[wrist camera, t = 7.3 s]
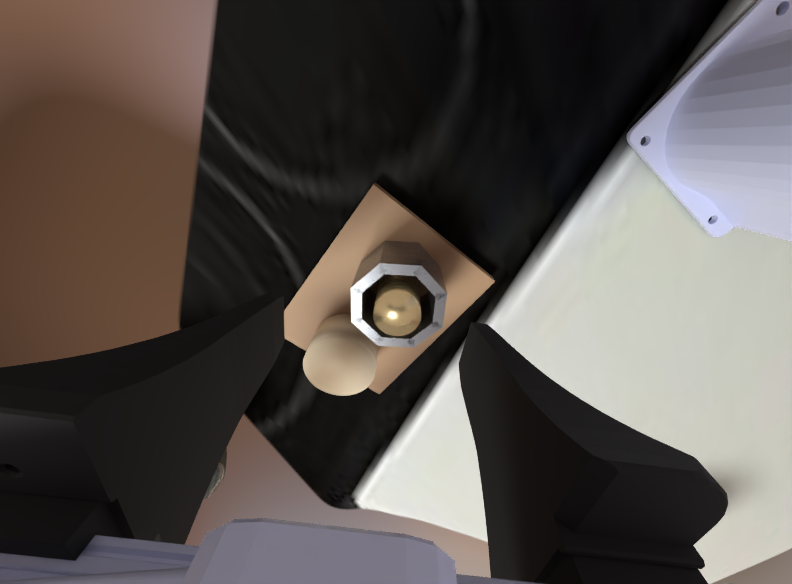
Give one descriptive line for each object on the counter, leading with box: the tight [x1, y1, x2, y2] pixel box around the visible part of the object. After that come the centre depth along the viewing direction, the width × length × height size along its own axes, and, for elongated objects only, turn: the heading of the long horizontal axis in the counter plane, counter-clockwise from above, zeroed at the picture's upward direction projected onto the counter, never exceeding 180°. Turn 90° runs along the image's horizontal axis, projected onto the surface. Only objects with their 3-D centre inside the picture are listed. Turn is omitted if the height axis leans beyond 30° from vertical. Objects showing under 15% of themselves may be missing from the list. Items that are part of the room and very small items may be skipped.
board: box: [284, 183, 495, 396], centre depth 21 cm, size 10×13×4 cm
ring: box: [351, 241, 447, 348], centre depth 19 cm, size 5×5×4 cm
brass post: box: [373, 274, 421, 336], centre depth 19 cm, size 3×3×4 cm
